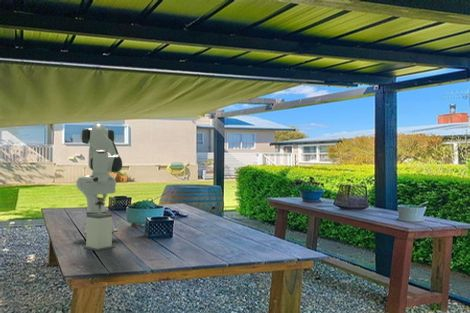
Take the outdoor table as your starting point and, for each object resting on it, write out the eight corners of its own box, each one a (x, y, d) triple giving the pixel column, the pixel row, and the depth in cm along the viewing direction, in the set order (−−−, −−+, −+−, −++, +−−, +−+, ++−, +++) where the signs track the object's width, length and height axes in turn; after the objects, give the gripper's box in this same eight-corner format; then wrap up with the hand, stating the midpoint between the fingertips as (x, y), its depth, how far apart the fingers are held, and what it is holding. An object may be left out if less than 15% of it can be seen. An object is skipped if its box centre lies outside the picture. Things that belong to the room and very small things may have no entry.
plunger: (100, 228, 256) (100, 196, 256) (108, 230, 252) (108, 197, 252) (90, 230, 250) (90, 197, 250) (98, 232, 246) (99, 198, 246)
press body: (100, 244, 260) (101, 212, 259) (114, 247, 253) (114, 214, 253) (83, 248, 250) (84, 214, 249) (97, 251, 243) (98, 216, 243)
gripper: (110, 177, 261) (110, 200, 262) (82, 178, 244) (81, 203, 244) (117, 177, 258) (117, 201, 258) (89, 179, 241) (88, 204, 241)
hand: (99, 202), depth 251 cm, fingers closed on plunger, 3 cm apart
